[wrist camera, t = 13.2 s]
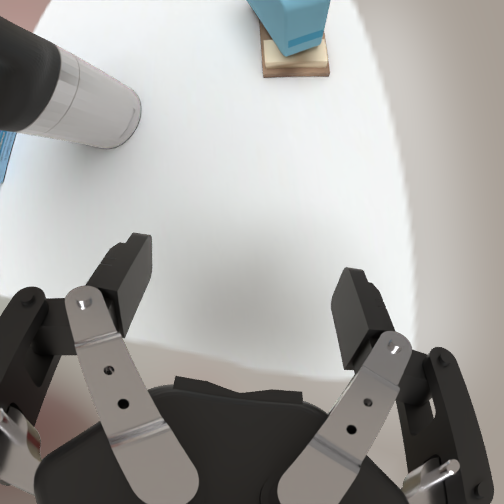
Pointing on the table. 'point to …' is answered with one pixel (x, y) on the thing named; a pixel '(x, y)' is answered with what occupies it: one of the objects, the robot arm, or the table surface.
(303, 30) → the data package
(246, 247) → the table surface
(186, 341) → the table surface
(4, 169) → the blue product box
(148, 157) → the table surface
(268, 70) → the display stand
